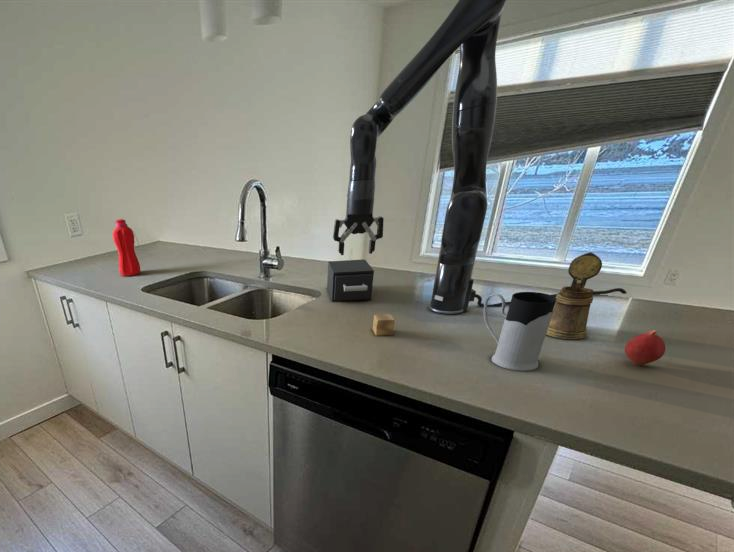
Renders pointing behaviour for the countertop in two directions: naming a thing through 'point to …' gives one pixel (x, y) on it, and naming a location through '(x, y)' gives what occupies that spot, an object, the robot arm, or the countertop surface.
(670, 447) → the countertop surface
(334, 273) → the small drawer cabinet
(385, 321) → the block
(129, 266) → the water bottle
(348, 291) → the dark grey drawer
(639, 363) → the onion
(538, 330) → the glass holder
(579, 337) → the wooden mug
